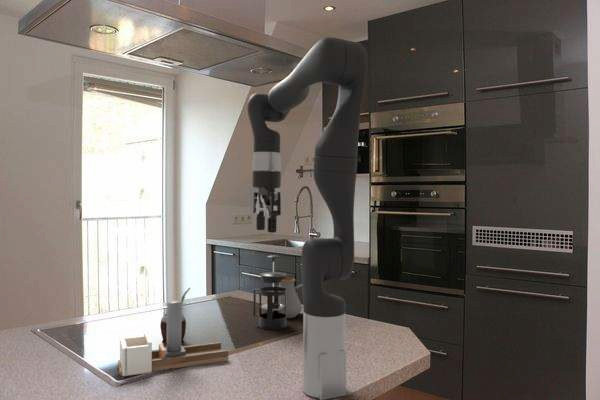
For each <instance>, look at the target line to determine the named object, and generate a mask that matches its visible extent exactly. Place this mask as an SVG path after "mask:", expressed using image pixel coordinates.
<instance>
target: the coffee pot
mask: <svg viewBox="0 0 600 400" xmlns="http://www.w3.org/2000/svg"><path fill="white" fill-rule="evenodd" d="M295 282H296V278H291V277H285V278H284V279H283V280H282V281H281V282H279V283H278V287H284V288H286V289H287V319H293V318H296V317H297V316H298V315H299V314H300V313H301V312H302V311H303V306H302V303H301V301H300V299H299V296H298V293H297V291H296V290H297V289H300V288H302V283H301V284H299V285H296V286H295V285H294V284H295ZM279 292H280V291H279ZM279 304H283V305H285V295H281V296H279ZM278 312H279V313H284V314H285V309H284V310H279V311H278Z"/></svg>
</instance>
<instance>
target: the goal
mask: <svg viewBox="0 0 600 400" xmlns="http://www.w3.org/2000/svg"><path fill="white" fill-rule="evenodd" d="M152 346H153V342H152V340H151V337H150V334H149V333H148V331H144V332H143V335H137V336H127V337H120V338H119V360H120V362H121V367H122V376H121V377H127V376H134V375H142V374H147V373H152V372H153V371H152V350H153V349H152V348H153V347H152Z"/></svg>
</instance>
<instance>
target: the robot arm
mask: <svg viewBox="0 0 600 400" xmlns="http://www.w3.org/2000/svg"><path fill="white" fill-rule="evenodd" d="M367 72H368V54H367V51H366V49H365V47H364V45H363V44H362V43H359V42H357V41H351V40H349V39H348V40H346V39H343V38H338V37H337V38H336V37H331V36H329V37H323V38H321V39H319V40H318V41H317V42H316V43H315V44H314V45H313V46H312V47H311V48H310V49H309V50H308V52H307V53H306V54H305V56H304V57H302V59H301V60H300V62H299V63H298V64H297V66H295V68H294V69H293V71H292V72H291V73H290V74H289V75H288V76H287V77H285V78H284V79H282V80H281V81H279V82H277V84H275V85H274V86H273V87H272V88H270V90H269V93H268V94H265V93H253V94H252V95H251V96H250V97H249V99H248V102H247V105H246V106H247V107H246V109H247V115H248V118H249V122H250V126H251V131H252V135H253V157H252V178H251V179H252V182H251V183H252V185H251V186H252V188H254V189H258V191H254V192H253V200H252V201H253V207H252V208H253V209H252V211H253V212H252V214H254V215H255V216H256V222H255V223H256V227H255V229H256V230H257V231H265V229H266V227H267V233H270V234H271V233H276V232H277V218H278V217H279V216H281V215H282V211H281V207H282V206H281V204H282V203H281V199H282V198H281V192H280V191H276V190H275V189H280V188H281V187H282V186H281V185H282V184H281V183H282V182H281V181H282V176H281V175H282V160H281V135H280V133H279V132H278V131H276V130H274V129H272V128H269V127H268V126H267V123H266V122H268V123H269V122H270V123H280V122H282V121H284V120H285V119H286V118H287V116H288V115H289V113H290V111H291V110H293V109H294V108H297V106H299V105H301V104H303V102H304V101H305V100H306V99H307V98H308V95H309V93H310V86H312V85H315V84H319V83H323V84H327V85H333V86H338V96H337V102H336V107H335V110H334V113H333V115H332V117H331V119H330V120H329V122H328V124H327V126H325V128H324V130H323V131H322V133H321V135H320V137H319V138H318V140H317V143H316V145H315V147H314V157H313V158H314V159H313V161H314V162H313V179H314V184H315V185H316V188H317V189H318V191H319V194H320V195H321V197H322V199H323V200H324V202H325V204H326V206H327V208H328V211H329V212H330V215H331V218H332V223H333V237H331V238H310V239H309V238H308V239H306V241H304V243H303V245H302V249H301V257H300V258H301V262H300V263H301V264H300V265H301V284H302V287H301V291H302V294H301V295H302V303H303V306H302V311H303V313H302V314H303V316H302V317H303V318H302V319H303V321H302V322H303V323H302V392H303V393H304V394H305V395H306V396H309V397H311V398H316V399H318V400H329V399H334V398H339V397H345V396H346V395H347V351H346V308H347V306H346V304H347V303H346V300H345V299H344V298H343V297H341V296H339V295H336V294H333V293H329V292H328V291H325V289H324V284H323V283H324V282H331V281H344V280H347V279H349V278H350V277H351V275H352V273H353V270H354V265H355V223H354V222H355V221H354V215H355V213H354V212H355V196H356V194H355V193H356V183H357V182H356V180H357V171H358V155H359V154H358V153H359V151H358V150H359V149H358V147H359V133H360V121H361V113H362V106H363V99H364V94H365V86H366V80H367ZM265 215H266V216H267V226H266V225H265V224H266V216H265Z"/></svg>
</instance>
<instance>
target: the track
mask: <svg viewBox="0 0 600 400" xmlns="http://www.w3.org/2000/svg"><path fill="white" fill-rule="evenodd" d="M182 346H183V345H182ZM183 348H184V349H185V351H186V355H183V356H175V357H168V358H160V357H159V348H158V349H152V372H156V371H158V372H159V371H164V370H163V369H165V370H169V369H170V368H172V369H177V368H178V369H179V368H184V367H193V366H200V365H206V364H212V363H214V364H215V363H221V362H228V361H229V350H228V349H222V342H221V341H217V342H216V341H215V342H211V343H210V342H209V343H200V344H193V345H184V346H183ZM117 367H118V371H119V376H120V377H123V376H122V367H121V362H120V359H119V360H118V359H117ZM168 368H169V369H168ZM170 370H171V369H170Z"/></svg>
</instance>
